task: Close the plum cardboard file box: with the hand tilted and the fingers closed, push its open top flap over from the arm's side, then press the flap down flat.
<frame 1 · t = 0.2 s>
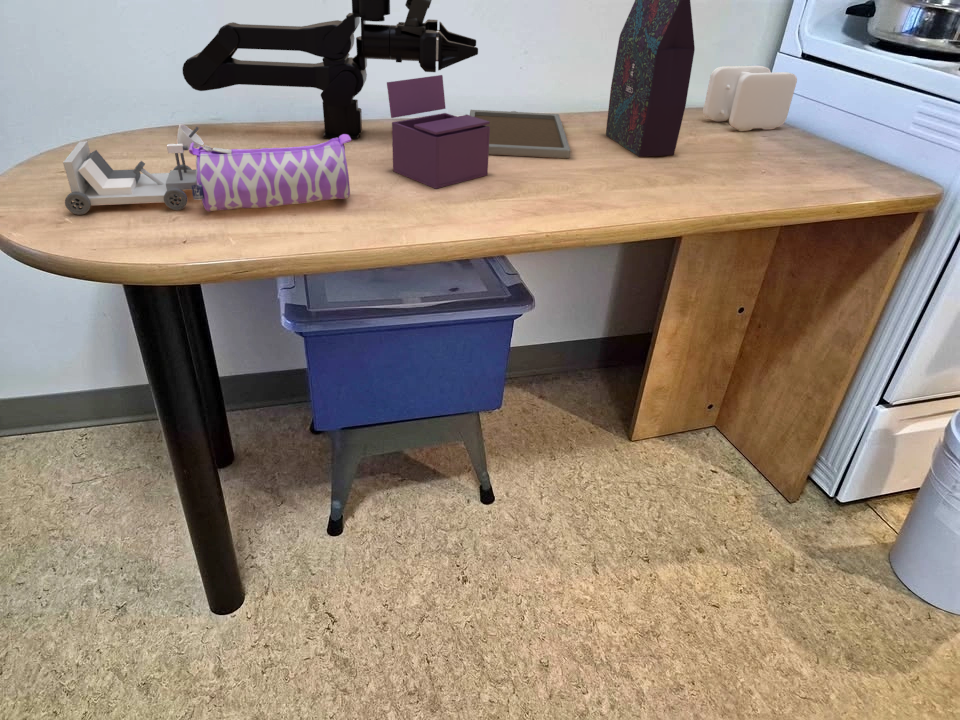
hand: (477, 46, 125), 17 cm above the table, tool horizontal, fingers open, 9 cm apart
file box: (440, 173, 115), on the table
toy car: (146, 199, 100), on the table
flap: (417, 96, 113), point 11 cm above the table, hinge at 100.0°
pencil case: (277, 204, 100), on the table
grey rectangular tray: (515, 135, 138), on the table
decorative box: (638, 146, 135), on the table
cable organizer: (741, 125, 153), on the table
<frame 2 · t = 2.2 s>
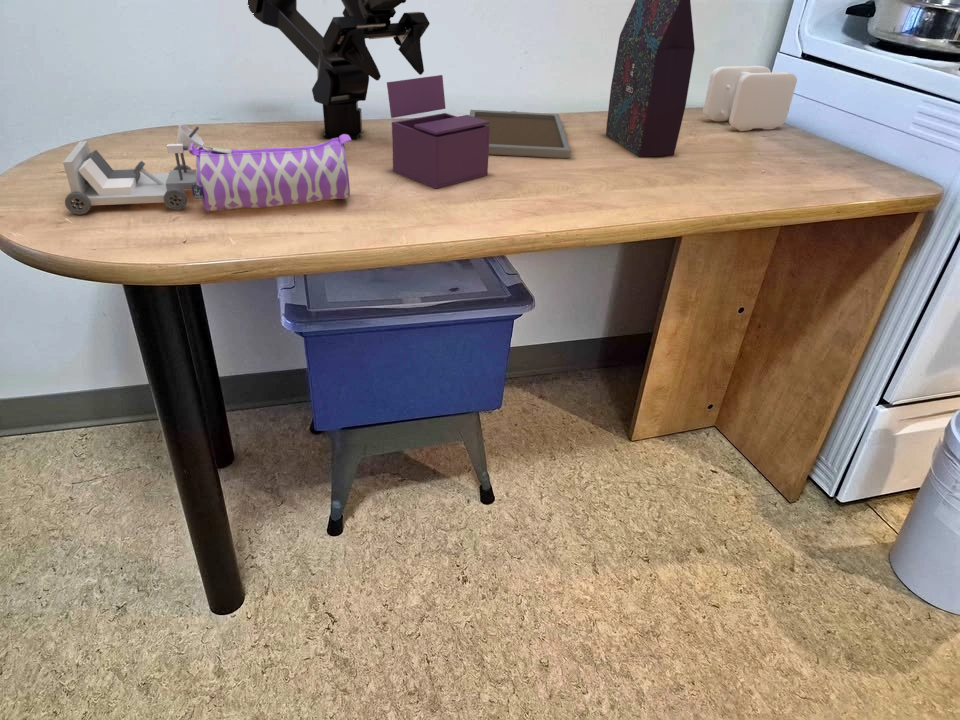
hand: (401, 75, 114), 14 cm above the table, tool tilted 45°, fingers open, 9 cm apart
nothing on the table moved.
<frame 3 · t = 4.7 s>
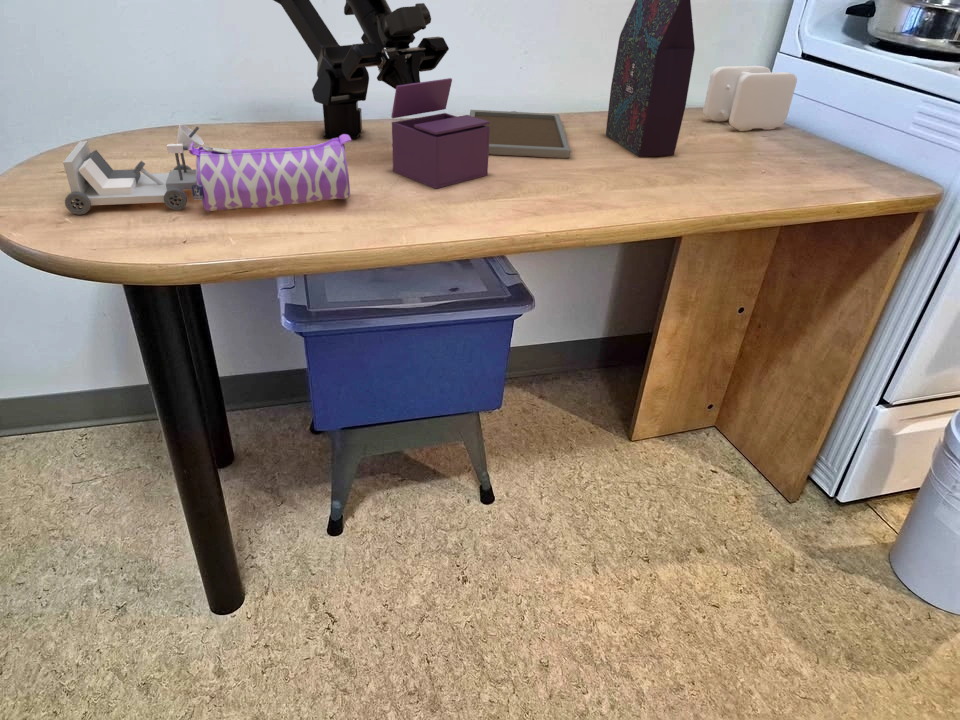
hand: (419, 102, 113), 10 cm above the table, tool tilted 45°, fingers closed, pressing on flap
flap: (422, 98, 112), point 11 cm above the table, hinge at 73.2°, touching gripper
everything else where it was.
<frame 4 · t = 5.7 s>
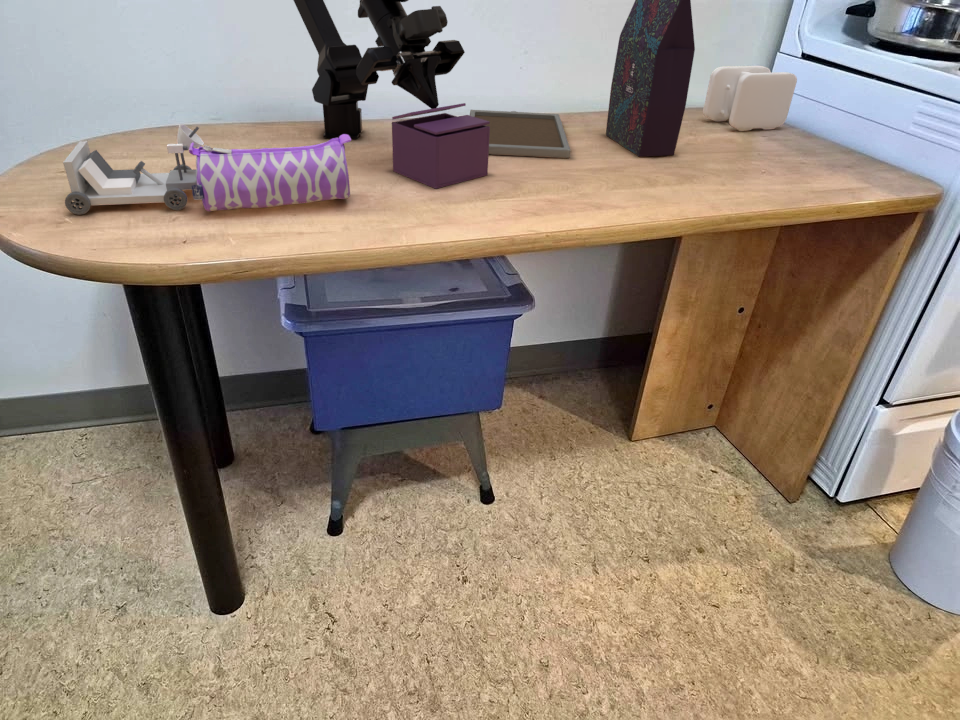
hand: (435, 107, 110), 10 cm above the table, tool tilted 45°, fingers closed
flap: (429, 111, 112), point 10 cm above the table, hinge at 19.2°
everything else where it was.
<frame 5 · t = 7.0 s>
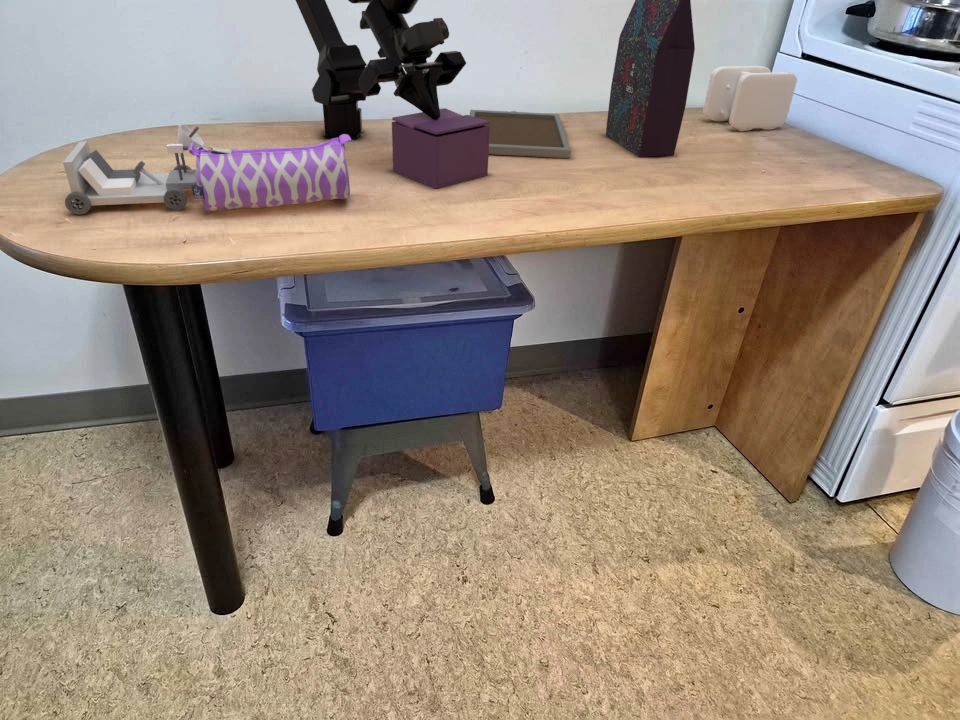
hand: (437, 118, 111), 9 cm above the table, tool tilted 45°, fingers closed, pressing on flap
flap: (429, 118, 112), point 8 cm above the table, hinge at -4.3°, touching file box, gripper
everything else where it was.
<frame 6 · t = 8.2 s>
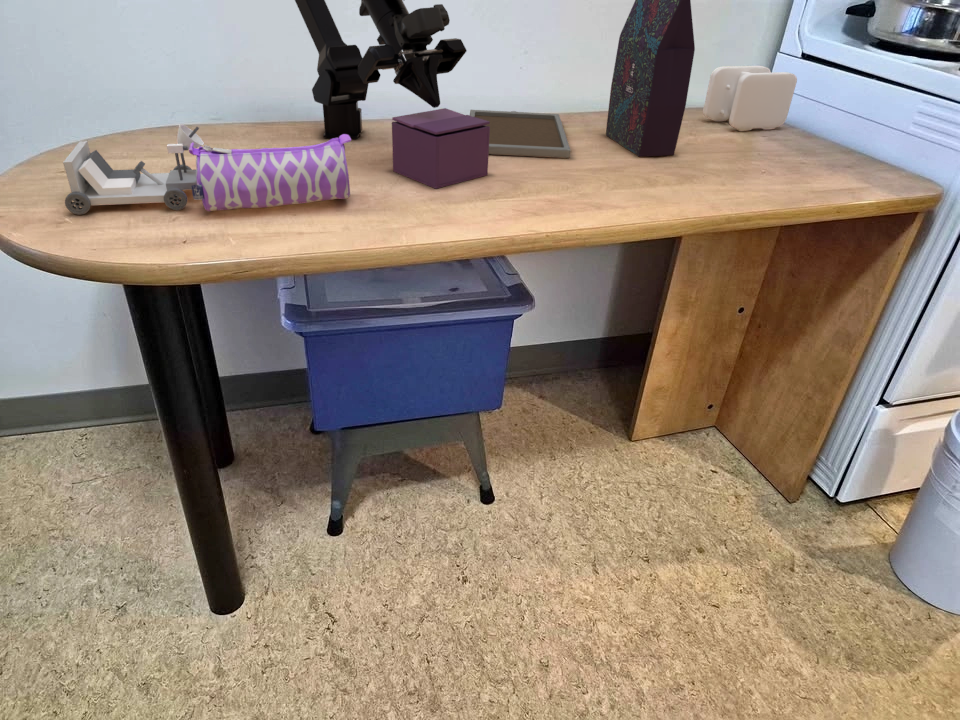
hand: (437, 105, 110), 11 cm above the table, tool tilted 45°, fingers closed
flap: (429, 117, 112), point 9 cm above the table, hinge at -1.6°
everything else where it was.
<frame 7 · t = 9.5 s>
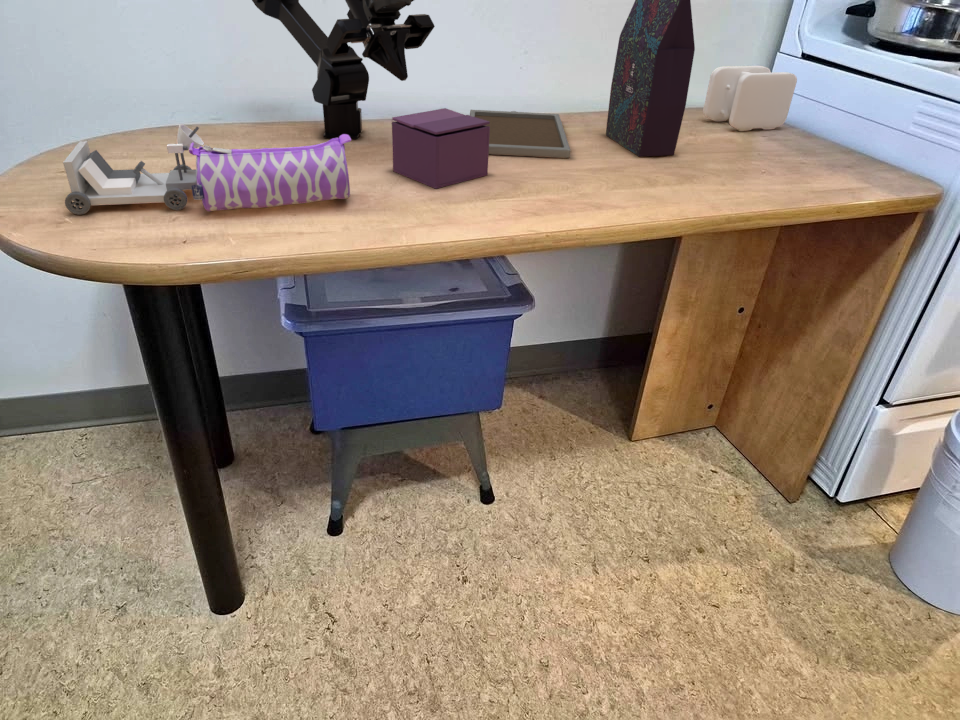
hand: (404, 79, 113), 13 cm above the table, tool tilted 45°, fingers closed
nothing on the table moved.
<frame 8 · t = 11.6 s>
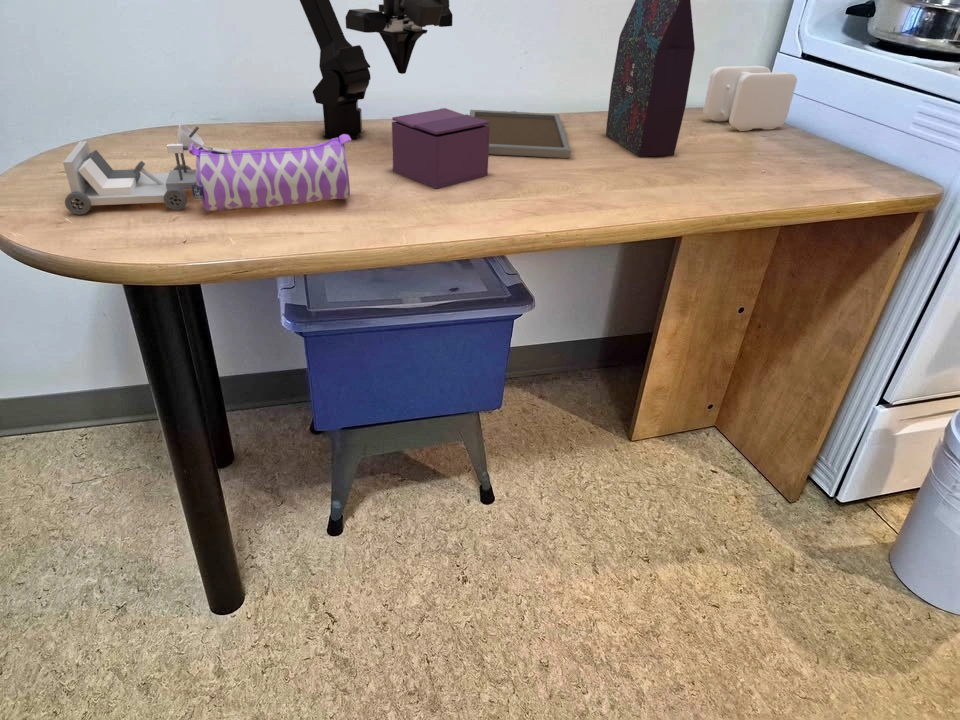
hand: (401, 73, 119), 13 cm above the table, tool pointing down, fingers closed
nothing on the table moved.
at the end: flap at -2° (first picture: +100°) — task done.
